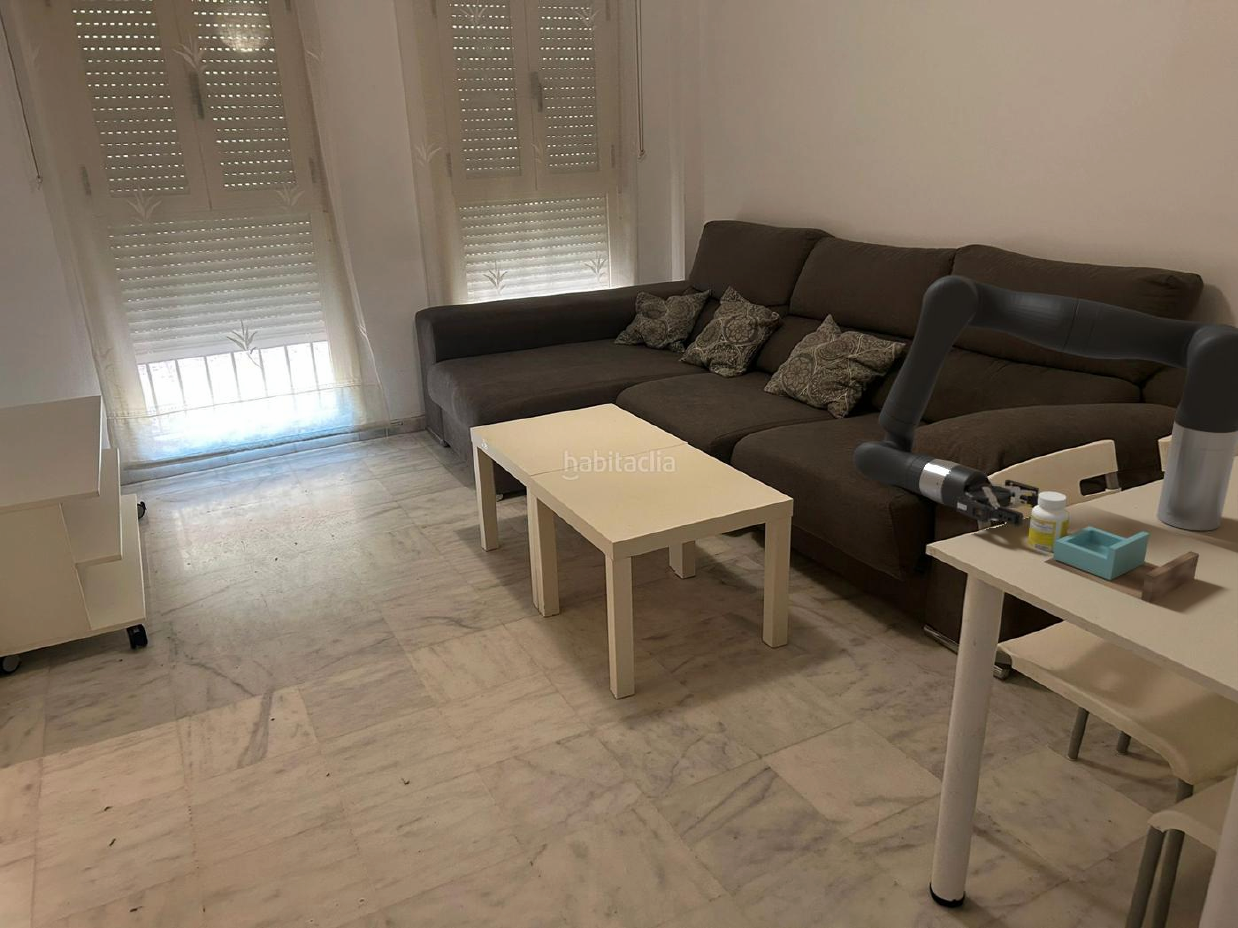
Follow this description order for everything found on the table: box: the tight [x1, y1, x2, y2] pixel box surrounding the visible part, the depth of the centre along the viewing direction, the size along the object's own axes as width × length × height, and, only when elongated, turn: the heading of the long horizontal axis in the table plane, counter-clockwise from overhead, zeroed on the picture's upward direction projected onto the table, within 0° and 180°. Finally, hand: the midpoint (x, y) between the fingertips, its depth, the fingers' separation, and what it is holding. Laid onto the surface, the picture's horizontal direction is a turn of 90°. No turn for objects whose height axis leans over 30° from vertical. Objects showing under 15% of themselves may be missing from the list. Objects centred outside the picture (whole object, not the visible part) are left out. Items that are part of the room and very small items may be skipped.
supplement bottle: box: [1027, 491, 1070, 552], centre depth 142 cm, size 5×5×10 cm
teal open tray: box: [1052, 525, 1150, 580], centre depth 135 cm, size 9×9×5 cm
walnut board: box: [1043, 550, 1200, 604], centre depth 133 cm, size 12×16×6 cm
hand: (1038, 513), depth 143 cm, fingers open, 8 cm apart
